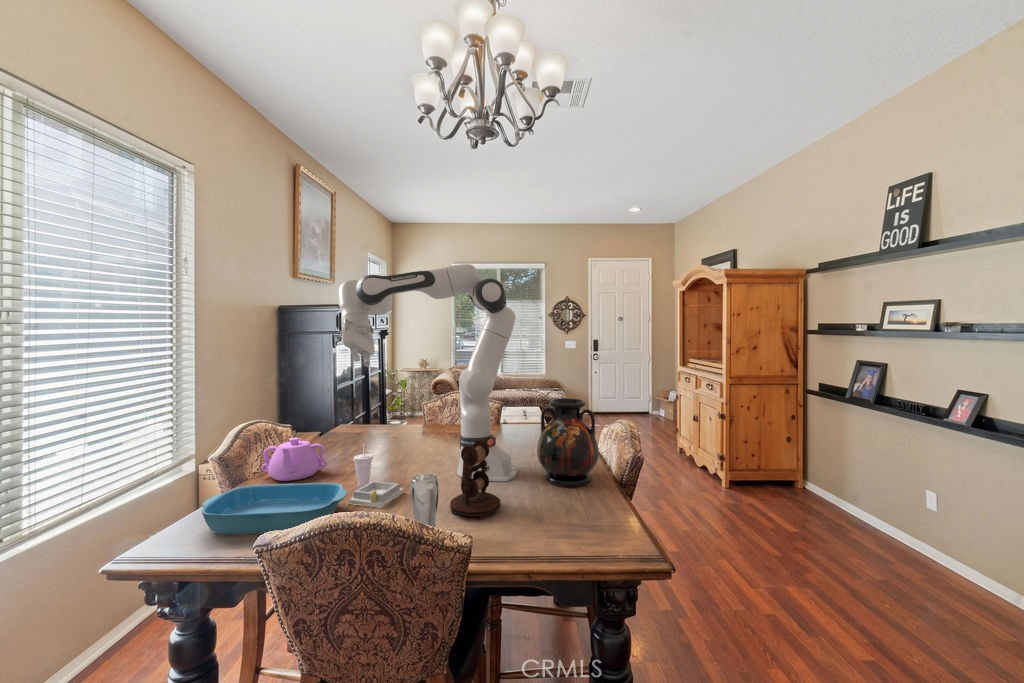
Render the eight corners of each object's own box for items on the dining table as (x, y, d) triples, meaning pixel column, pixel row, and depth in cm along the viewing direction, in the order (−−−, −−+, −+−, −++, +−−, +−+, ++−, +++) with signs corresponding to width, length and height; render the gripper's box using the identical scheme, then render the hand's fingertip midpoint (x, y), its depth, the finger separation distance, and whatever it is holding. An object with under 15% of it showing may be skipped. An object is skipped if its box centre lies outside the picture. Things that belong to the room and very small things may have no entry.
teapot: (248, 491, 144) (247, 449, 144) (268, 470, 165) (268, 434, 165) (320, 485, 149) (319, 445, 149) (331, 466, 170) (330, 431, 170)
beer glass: (432, 542, 109) (432, 483, 108) (406, 540, 110) (406, 481, 110) (442, 530, 116) (442, 473, 115) (418, 527, 117) (417, 472, 117)
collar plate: (403, 492, 142) (403, 479, 142) (380, 508, 130) (380, 493, 129) (374, 489, 145) (373, 476, 145) (349, 504, 133) (348, 490, 133)
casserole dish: (355, 501, 136) (355, 479, 135) (335, 535, 113) (335, 508, 113) (228, 508, 131) (227, 484, 131) (181, 544, 109) (180, 516, 109)
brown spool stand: (467, 497, 138) (466, 434, 137) (509, 505, 132) (508, 439, 131) (440, 515, 125) (439, 446, 124) (485, 525, 118) (484, 452, 118)
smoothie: (362, 488, 146) (361, 447, 146) (349, 485, 149) (349, 444, 149) (377, 483, 151) (376, 443, 151) (364, 479, 155) (364, 440, 154)
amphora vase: (530, 487, 147) (529, 404, 146) (544, 468, 167) (544, 395, 166) (594, 494, 140) (595, 407, 140) (601, 473, 161) (601, 397, 160)
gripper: (353, 315, 142) (359, 355, 139) (374, 331, 162) (380, 366, 158) (334, 319, 142) (340, 360, 138) (358, 335, 162) (363, 370, 158)
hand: (362, 363), depth 149 cm, fingers open, 8 cm apart
